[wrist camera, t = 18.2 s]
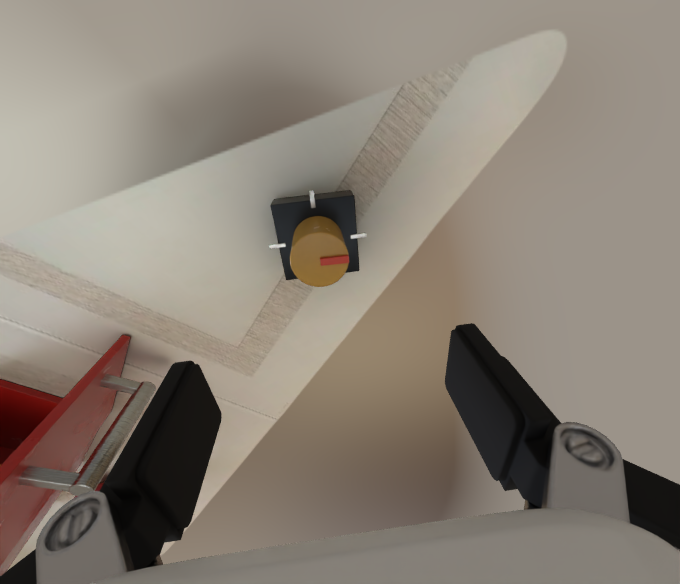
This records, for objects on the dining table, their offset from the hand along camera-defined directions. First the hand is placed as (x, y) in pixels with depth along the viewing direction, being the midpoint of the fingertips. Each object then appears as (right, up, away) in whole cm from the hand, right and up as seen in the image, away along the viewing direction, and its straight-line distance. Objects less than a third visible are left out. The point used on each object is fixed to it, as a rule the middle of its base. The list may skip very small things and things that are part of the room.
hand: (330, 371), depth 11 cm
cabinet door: (-23, -8, +23) cm, 34 cm away
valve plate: (-2, +9, +17) cm, 19 cm away
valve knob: (-2, +8, +15) cm, 17 cm away
